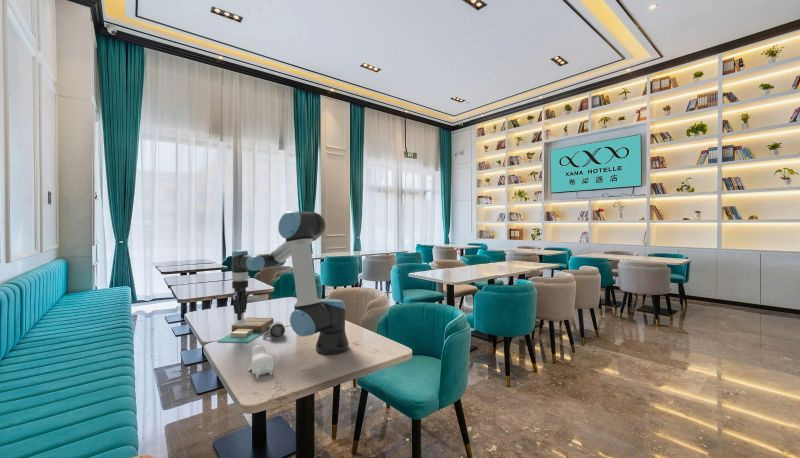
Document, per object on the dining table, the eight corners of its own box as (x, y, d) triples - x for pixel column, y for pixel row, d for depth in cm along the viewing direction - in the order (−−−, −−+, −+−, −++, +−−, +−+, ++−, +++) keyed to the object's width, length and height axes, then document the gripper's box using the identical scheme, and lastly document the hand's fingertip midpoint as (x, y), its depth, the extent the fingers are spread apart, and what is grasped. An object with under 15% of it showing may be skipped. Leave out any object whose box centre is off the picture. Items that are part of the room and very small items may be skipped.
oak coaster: (245, 337, 178) (245, 333, 178) (230, 337, 179) (230, 333, 179) (253, 332, 186) (253, 328, 186) (238, 332, 187) (238, 328, 187)
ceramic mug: (284, 333, 186) (283, 319, 186) (285, 338, 179) (285, 323, 179) (262, 336, 182) (262, 321, 182) (263, 340, 175) (262, 325, 174)
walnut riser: (260, 333, 186) (260, 326, 186) (231, 332, 187) (231, 325, 187) (273, 324, 202) (273, 318, 202) (246, 324, 203) (246, 317, 203)
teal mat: (248, 343, 171) (248, 342, 171) (217, 342, 172) (217, 341, 172) (262, 333, 186) (262, 332, 186) (233, 333, 187) (233, 332, 187)
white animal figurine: (275, 380, 137) (266, 355, 148) (277, 363, 134) (268, 338, 146) (251, 386, 132) (245, 359, 144) (253, 368, 129) (246, 342, 141)
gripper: (239, 278, 187) (240, 322, 187) (226, 282, 174) (226, 329, 174) (253, 278, 186) (253, 322, 186) (240, 282, 173) (241, 329, 173)
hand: (240, 325), depth 180 cm, fingers closed
